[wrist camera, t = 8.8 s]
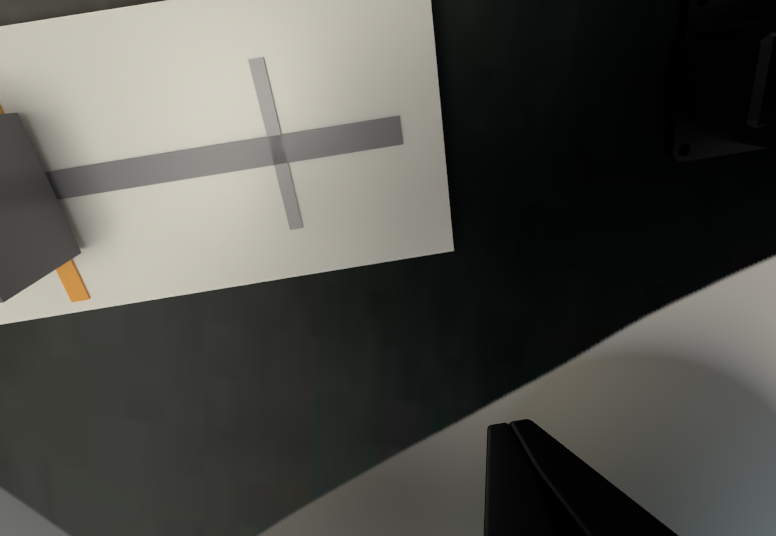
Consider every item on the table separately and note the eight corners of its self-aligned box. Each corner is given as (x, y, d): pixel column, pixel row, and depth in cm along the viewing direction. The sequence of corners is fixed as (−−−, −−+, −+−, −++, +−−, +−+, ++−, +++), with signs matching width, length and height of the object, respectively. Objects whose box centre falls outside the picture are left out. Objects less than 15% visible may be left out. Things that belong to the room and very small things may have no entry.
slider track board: (418, -27, 16) (427, -42, 14) (444, 234, 20) (454, 251, 18) (-139, 60, 16) (-209, 58, 14) (0, 306, 20) (-39, 332, 18)
